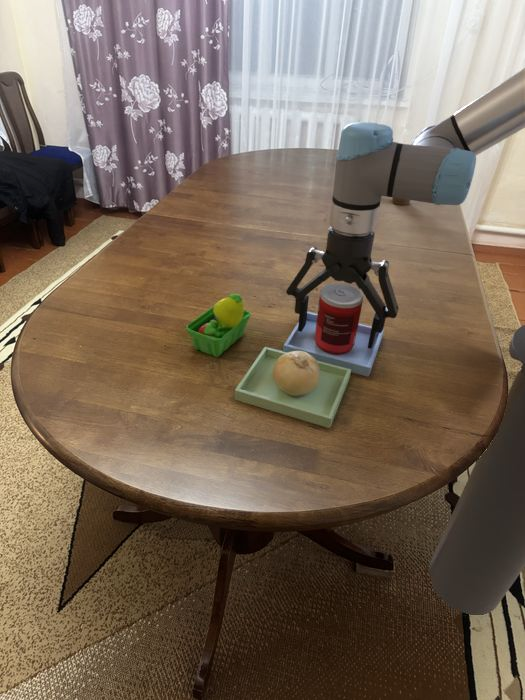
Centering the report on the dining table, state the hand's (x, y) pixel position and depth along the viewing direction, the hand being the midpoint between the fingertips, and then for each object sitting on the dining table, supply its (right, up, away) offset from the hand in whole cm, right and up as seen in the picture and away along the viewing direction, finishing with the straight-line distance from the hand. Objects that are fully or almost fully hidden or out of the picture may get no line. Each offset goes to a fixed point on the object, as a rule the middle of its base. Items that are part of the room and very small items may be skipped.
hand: (335, 336), depth 88 cm
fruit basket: (-22, -1, +1) cm, 22 cm away
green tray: (-8, -9, -9) cm, 15 cm away
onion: (-8, -9, -9) cm, 15 cm away
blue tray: (0, -2, +1) cm, 2 cm away
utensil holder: (+33, +48, +70) cm, 91 cm away
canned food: (0, -2, +1) cm, 2 cm away
